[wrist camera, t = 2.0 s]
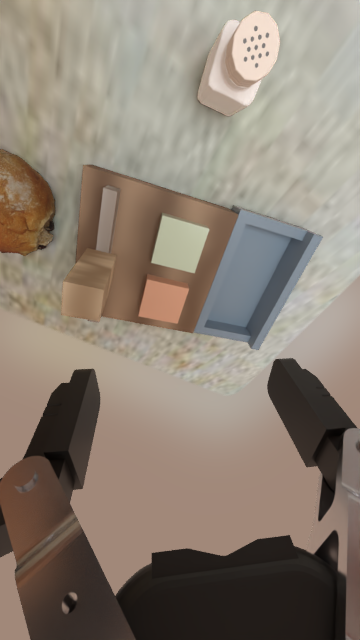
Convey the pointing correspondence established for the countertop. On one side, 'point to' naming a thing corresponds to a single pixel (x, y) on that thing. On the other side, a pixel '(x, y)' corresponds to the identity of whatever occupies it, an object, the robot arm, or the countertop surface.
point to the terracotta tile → (163, 299)
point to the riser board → (150, 242)
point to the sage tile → (179, 243)
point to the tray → (255, 277)
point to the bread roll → (23, 207)
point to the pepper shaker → (239, 63)
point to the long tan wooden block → (93, 267)
